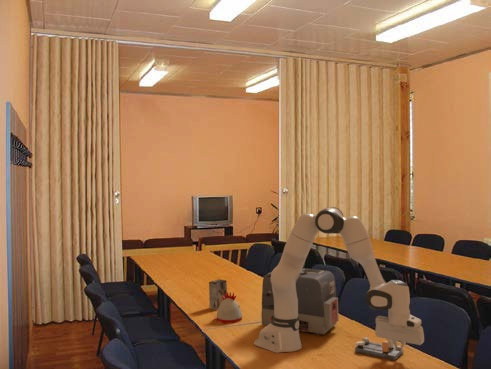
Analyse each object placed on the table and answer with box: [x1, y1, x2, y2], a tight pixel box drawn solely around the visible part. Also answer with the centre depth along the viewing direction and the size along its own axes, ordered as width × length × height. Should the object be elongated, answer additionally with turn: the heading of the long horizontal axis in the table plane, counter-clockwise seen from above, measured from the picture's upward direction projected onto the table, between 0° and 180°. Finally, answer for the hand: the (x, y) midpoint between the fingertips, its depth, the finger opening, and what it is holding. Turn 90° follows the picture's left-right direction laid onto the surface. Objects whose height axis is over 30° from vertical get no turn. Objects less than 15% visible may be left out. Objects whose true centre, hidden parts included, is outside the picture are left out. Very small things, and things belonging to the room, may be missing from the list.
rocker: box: [354, 340, 365, 346], centre depth 224 cm, size 4×2×1 cm, turn 54°
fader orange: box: [381, 340, 389, 352], centre depth 217 cm, size 2×2×4 cm
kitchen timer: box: [216, 291, 243, 324], centre depth 274 cm, size 14×14×15 cm
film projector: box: [260, 267, 340, 337], centre depth 258 cm, size 39×29×30 cm
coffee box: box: [208, 279, 228, 311], centre depth 297 cm, size 9×6×16 cm
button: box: [362, 336, 370, 343], centre depth 229 cm, size 3×3×2 cm
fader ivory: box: [386, 339, 394, 348], centre depth 222 cm, size 2×2×4 cm
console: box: [354, 341, 404, 361], centre depth 222 cm, size 18×11×3 cm, turn 54°
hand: (399, 350), depth 214 cm, fingers closed
